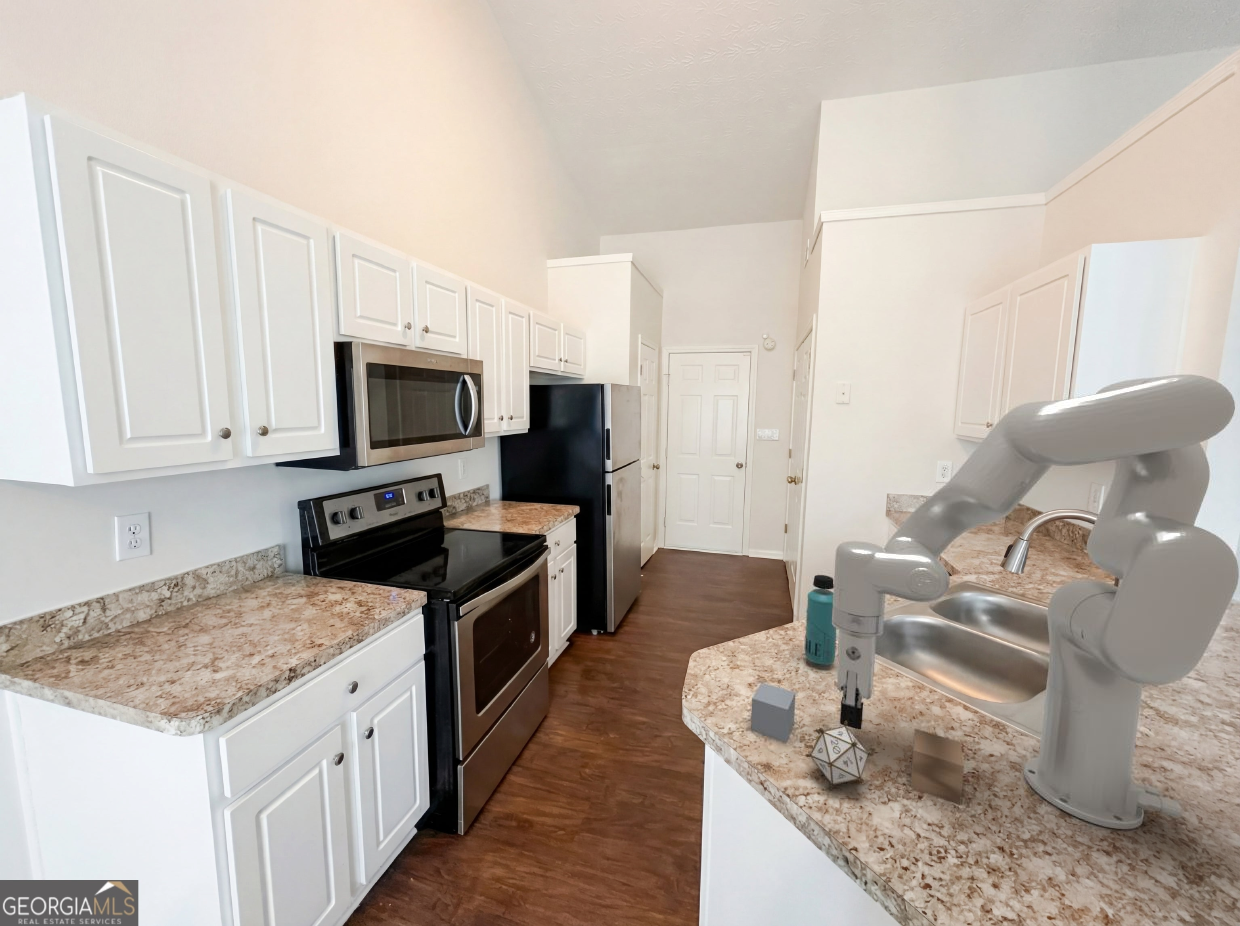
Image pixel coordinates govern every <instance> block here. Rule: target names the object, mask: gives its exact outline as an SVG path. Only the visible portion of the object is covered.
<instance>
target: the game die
mask: <svg viewBox="0 0 1240 926" xmlns="http://www.w3.org/2000/svg"><path fill="white" fill-rule="evenodd" d="M847 724H848V723H847V720H846V721H845V722H844V725H842V726H838V727H833V728H830V729H826V730H824V729H823V728H822V727H820V726H819V727H818V728H815V730H816V733H817V734H818V735H817V738H816V740H815V743H814V745H813V747H812V749H811V752H810V754H809V753H806V754H804V757H806V758H811V759H812V760H813V762H815V764H816V765H817V767H818V768H819V769H820V771H821V772H822V773H823V774H824V776H825V777H826V778H827V780H828V781H829V782H830V786H829V789H830V791H833V790H834V788H835V787H834V786H835V785H839V784H843V783H844V784H845V783H848V782H854V781H855V782H856V783H861V784H863V785H864V784H866V783H865V779H864V778H862V776H863V772H864V769H865V766H866V764H867V761H868V757H869V756H871V757H872V756H873V755H875V752H873V751H867V750H866V749H865V748H864V746H863V744H861V742H860V741H859V740H858V739H857V738H856V736H854V734H853V733H852V732H851V730H849V727H848V726H847Z"/></svg>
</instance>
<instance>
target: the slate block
mask: <svg viewBox="0 0 1240 926" xmlns="http://www.w3.org/2000/svg"><path fill="white" fill-rule="evenodd" d="M795 708H796V692H794V691H791V690H788V689H786V688H782V687H778V686H776V685H771V684H768V683H765V682H763V681H762V682H761V683H759V686H758V687H757V689H756V690H755V692H754V694H753V696H752V698H751V709H750V710H751V713H750V714H751V715H750V717H751V718H750V731H751V732H753V733H757V734H759V735H762V736H766V737H768V738H771V739H774V740H776V741H780V742H781V743H784V744H787V741H788V740H789V737H790V735H791V732H792V729H793V727H794V725H795V712H796V711H795V710H796V709H795Z"/></svg>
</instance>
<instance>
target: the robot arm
mask: <svg viewBox="0 0 1240 926" xmlns="http://www.w3.org/2000/svg"><path fill="white" fill-rule="evenodd" d="M1235 410H1236V405H1235V400H1234V397H1233V395H1232V393H1231V392H1230V390H1229V389H1228V388H1227V387H1226V386H1224V385H1223V384H1222V383H1220V382H1218V381H1216V380H1214V379H1212V378H1209V377H1207V376H1203V375H1196V374H1173V375H1165V376H1164V375H1163V376H1156V377H1155V376H1154V377H1147V378H1146V377H1145V378H1137V379H1129V380H1128V379H1127V380H1123V381H1122V380H1121V381H1119V382H1115V383H1111V384H1109V385H1106V386H1104V387H1102V388H1101V389H1099V390H1098V391H1097V392H1096V393H1095V394H1090V395H1083V396H1080V397H1079V396H1078V397H1072V398H1065V399H1059V400H1043V401H1033V402H1032V401H1031V402H1027V403H1023V404H1022V403H1021V404H1019V405H1017V406H1015V407H1014V408H1012V409H1011V410H1009V411H1008V412H1007V413H1006V414H1004V415H1003V416H1002V418H1001V419H999V421H997V423H996V424H995V426H994V427H993V428H992V429H991V430H990V431H989V433H988V434H987V435H986V436H985V438H983V440H982V441H981V443H980V444H979V445H978V446H976V447H977V448H976V449H975V450H973V452H972V453H971V455H969V457H968V458H967V459H966V461H964V463H963V464H962V465H961V467H960V468H959V469H957V471H956V473H955V474H954V475H953V476H952V477H951V478H950V479H949V480H948V482H946V483H945V484H944V485H943V486H942V487H941V488H939V489H938V490H937V491H935V492H934V494H932V495H931V496H930V497H929V498H927V499H926V500H925V501H923V503H921V504H920V505H919V506H918V507H917V508H916V509H915V510H914V511H912V513H910V515H909V516H908V517H907V518H906V519H905V521H903V523H902V524H901V526H899V528H898V529H897V530H896V531H895V532H894V533H893V535H892V536H891V538H889V540H888V541H887V543H886V544H885V546H884V548H883V547H882V546H880V545H877V544H875V543H871V542H867V541H857V540H853V541H849V540H848V541H844V542H842V543H840V544H839V545H838V546H836V547H837V548H836V550H835V560H834V575H833V576H834V578H833V584H834V588H833V611H832V625H833V626H834V627H835V628H836V630H838V641H837V642H838V643H837V663H836V665H837V667H836V668H837V669H836V671H837V674H836V675H837V677H836V679H837V680H836V681H837V682H836V685H837V691H839V692H840V693H842V697H841V701H840V716H839V718H840V719H839V723H840V725H842V726H844V722H845V721H846V720H847V723H848V724H847V726H846V727H847V728H852V729H853V730H854V729H855V730H859V731H860V730H862V725H863V717H864V716H863V715H864V713H863V712H864V710H863V709H864V702H862V701H863V699H866V700H870V699H871V698H872V695H873V686H874V676H875V675H874V673H875V662H876V661H875V660H876V656H875V655H876V643H877V642H876V637H877V638H878V637H879V636H881V635H883V634H884V621H885V620H884V619H885V607H886V606H885V605H886V595H889V596H892V597H895V598H899V599H903V600H906V601H910V602H916V603H932V602H935V601H937V600H940V599H941V598H943V597H944V596H945V595H946V594H947V593H948V591H949V589H950V585H951V579H950V574H949V572H948V570H947V568H946V566H945V565H944V564H943V563H942V562H941V561H940V560H939V559H938V558H939V557H940V556H941V555H942V553H944V552H945V550H946V549H947V548H948V547H949V546H950V545H951V544H952V543H953V542H954V541H955V540H956V539H957V538H959V537H960V536H962V535H963V534H965V533H966V532H968V531H969V530H971V529H973V528H976V527H980V526H982V525H983V526H984V525H986V524H990V523H993V522H997V521H999V520H1001V519H1004V518H1006V517H1007V516H1008V515H1010V514H1011V513H1012V512H1013V511H1014V509H1015V508H1016V507H1017V506H1018V504H1020V503H1021V501H1022V500H1023V499H1024V498H1025V496H1027V494H1028V493H1029V492H1030V491H1031V490H1032V489H1033V487H1035V485H1037V483H1038V482H1039V481H1040V480H1041V479H1042V478H1043V477H1044V475H1046V474H1047V473H1048V471H1049V470H1050V469H1051V468H1052V467H1053V466H1057V467H1073V466H1081V465H1089V464H1096V463H1097V464H1098V463H1102V462H1108V461H1115V462H1114V463H1115V468H1114V469H1115V470H1114V474H1113V478H1112V481H1111V484H1110V486H1109V490H1108V492H1107V494H1106V497H1105V498H1104V502H1103V504H1102V506H1101V508H1100V510H1099V512H1098V514H1097V517H1096V520H1095V521H1094V524H1093V527H1092V529H1091V531H1090V534H1089V536H1088V539H1087V541H1086V542H1087V543H1086V551H1087V552H1086V553H1087V555H1088V557H1089V559H1090V560H1091V561H1092V562H1093V564H1094V565H1096V567H1098V568H1099V569H1101V570H1102V571H1104V572H1106V573H1108V574H1109V575H1110V576H1113V577H1114V578H1117V579H1118V580H1121V581H1120V584H1119V586H1116V585H1113V584H1110V583H1109V582H1106V581H1105V582H1104V581H1100V580H1095V579H1078V580H1071V581H1069V582H1067V583H1064V584H1063V585H1061V586H1059V587H1058V588H1057V589H1056V590H1055V591H1054V593H1052V595H1051V596H1050V599H1049V602H1048V604H1047V616H1046V617H1047V629H1048V639H1049V640H1048V641H1049V658H1048V659H1049V660H1048V670H1047V671H1048V672H1047V680H1046V689H1045V696H1044V697H1045V698H1044V706H1043V715H1042V726H1041V734H1040V735H1041V736H1040V744H1039V756H1038V757H1033V758H1030V759H1028V760H1027V761H1026V762H1025V764H1024V766H1023V768H1024V769H1023V773H1024V778H1025V780H1026V782H1027V783H1028V784H1029V785H1030V787H1031V788H1032V789H1033V790H1034V791H1035V792H1036V793H1037V794H1038V795H1040V796H1041V797H1042V798H1044V799H1045V800H1046V801H1047V802H1049V803H1051V804H1052V805H1053V806H1055V807H1056V808H1058V809H1061V811H1064V812H1065V813H1067V814H1069V815H1071V816H1073V817H1074V816H1075V817H1077V818H1079V819H1081V820H1083V821H1086V822H1089V823H1091V824H1094V825H1098V826H1100V827H1101V826H1102V827H1104V828H1105V827H1106V828H1110V829H1117V830H1131V829H1133V830H1134V829H1136V828H1139V827H1140V826H1141V825H1143V821H1144V815H1145V814H1144V811H1145V810H1147V809H1151V810H1154V811H1158V812H1159V813H1162V814H1165V815H1169V816H1170V817H1171V816H1172V817H1175V818H1179V819H1180V818H1181V816H1182V808H1181V805H1180V803H1179V801H1176V800H1173V799H1170V798H1166V797H1164V796H1163V797H1162V796H1160V791H1159V789H1158V787H1154V786H1151V785H1147V784H1141V783H1139V782H1135V779H1133V778H1132V772H1133V764H1134V756H1135V748H1136V740H1137V733H1138V724H1139V716H1140V710H1141V705H1142V704H1141V703H1142V694H1143V693H1142V691H1143V688H1142V686H1143V685H1145V686H1164V685H1169V684H1173V683H1175V682H1178V681H1180V680H1182V679H1183V678H1185V677H1186V676H1188V675H1189V674H1190V673H1192V671H1193V670H1194V669H1196V667H1197V666H1198V664H1199V663H1200V662H1201V660H1202V658H1203V656H1204V655H1205V653H1206V651H1207V649H1208V647H1209V645H1210V643H1211V641H1212V639H1213V637H1214V636H1215V633H1216V631H1217V629H1218V627H1219V625H1220V623H1221V622H1222V619H1223V618H1224V615H1225V613H1226V611H1227V609H1228V607H1229V605H1230V604H1231V601H1232V600H1233V597H1234V594H1235V592H1236V590H1237V588H1238V587H1237V586H1238V585H1239V584H1238V583H1239V578H1240V575H1239V572H1240V571H1239V570H1240V569H1239V563H1238V559H1237V557H1236V555H1235V553H1234V551H1233V550H1232V548H1231V547H1230V546H1229V544H1228V543H1226V542H1225V540H1223V539H1222V538H1221V537H1219V536H1218V535H1216V534H1215V533H1212V532H1210V531H1209V530H1207V529H1204V528H1203V527H1199V526H1196V525H1195V522H1196V521H1197V517H1198V516H1199V512H1200V510H1201V507H1202V505H1203V502H1204V499H1205V496H1206V494H1207V490H1208V488H1209V484H1210V475H1211V473H1210V464H1209V461H1208V460H1209V459H1208V457H1207V455H1206V452H1205V450H1204V448H1203V446H1202V444H1201V443H1202V442H1206V441H1208V440H1210V439H1211V438H1213V437H1216V435H1219V433H1221V432H1222V431H1223V430H1224V429H1225V428H1226V427H1228V425H1229V424H1230V422H1231V421H1232V420H1233V417H1234V414H1235Z"/></svg>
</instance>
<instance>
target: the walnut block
mask: <svg viewBox="0 0 1240 926" xmlns="http://www.w3.org/2000/svg"><path fill="white" fill-rule="evenodd" d="M963 756H964V755H963V749H962V742H961V741H958V740H954V739H952V738H948V737H945V736H942V735H938V734H934V733H931V732H928V731H925V730H921V729H918V728H915V727H914V729H913V743H912V755H911V771H910V772H911V773H910V774H911V775H910V777H911V778H910V781H911V782H910V788H911V789H913V790H916V791H919V792H922V793H924V794H928V795H930V796H933V797H936V798H939V799H941V800H945V801H947V802H949V803H953V804H956V805H958V806H961V801H962V792H963V782H964V781H963V780H964V769H965V766H964V765H965V764H964V757H963Z"/></svg>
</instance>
